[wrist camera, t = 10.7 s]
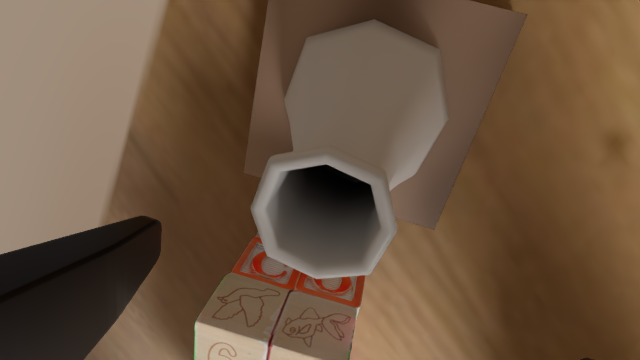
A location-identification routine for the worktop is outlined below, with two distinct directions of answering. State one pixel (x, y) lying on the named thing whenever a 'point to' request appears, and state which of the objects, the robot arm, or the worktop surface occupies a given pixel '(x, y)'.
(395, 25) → the plinth
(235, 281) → the stack of blocks
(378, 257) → the flask
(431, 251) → the worktop surface
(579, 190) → the worktop surface
